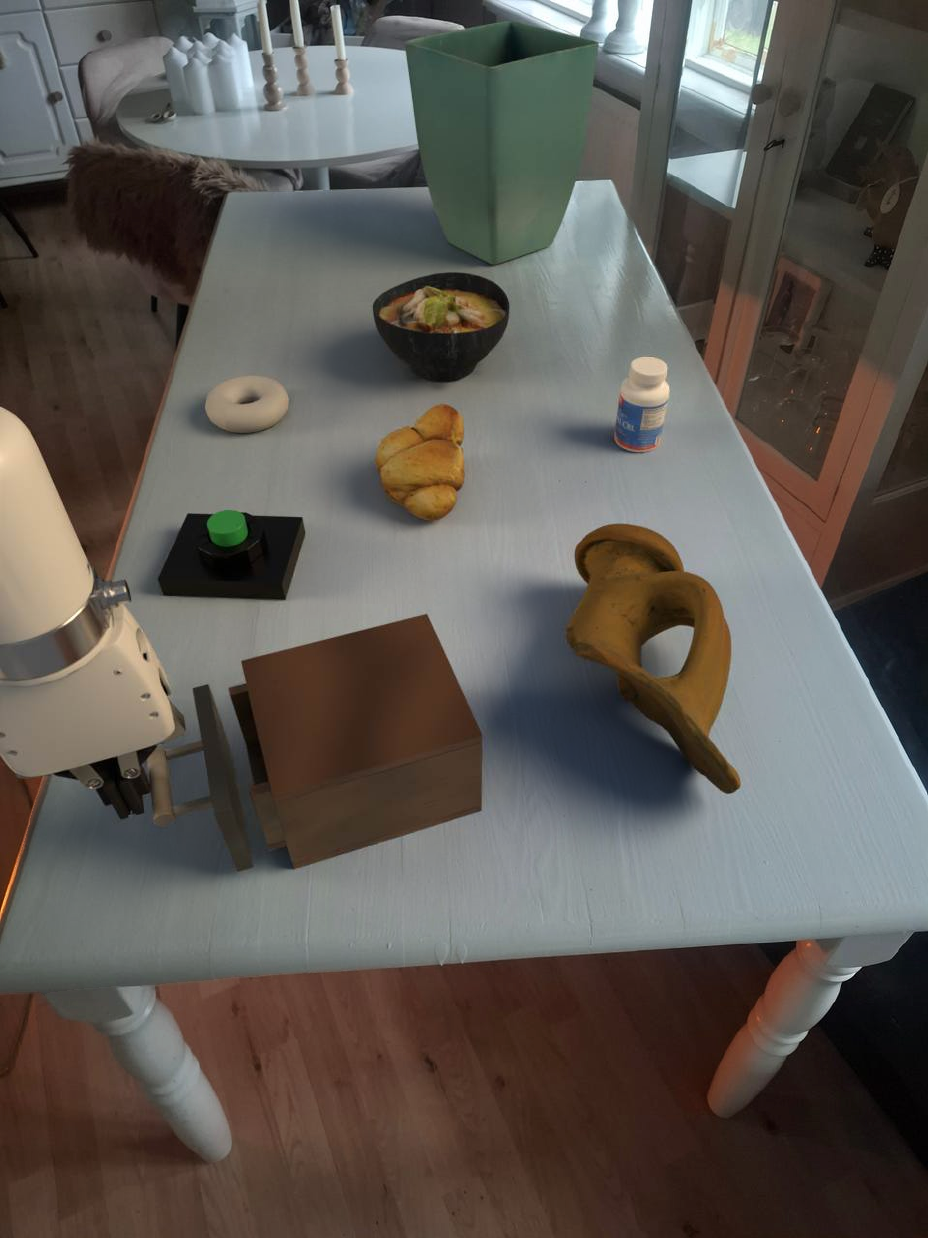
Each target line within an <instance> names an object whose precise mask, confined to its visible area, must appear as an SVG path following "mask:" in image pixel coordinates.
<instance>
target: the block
mask: <svg viewBox="0 0 928 1238" xmlns="http://www.w3.org/2000/svg"><path fill="white" fill-rule="evenodd" d="M239 512H240V513H242V514H243V515H244V517H245V521H246V525H247V529H248V535H247V537H246V539H245V540H244V541H243V542H241V543H240V544H237V545H234V546H230V547H221V546H217V545H215V544H214V543H213V542H212V541H211V538H210V535H209V531H208V528H207V521H208V519H209V518H210V517H211V516H212V515H214V514H215V513H192V512H190V513H189V512H188V513H186V515H185V518H184V520H183V522H182V524H181V526H180V529H179V531H178V533H177V535H176V537H175V540H174V542H173V543H172V546H171V548H170V550H169V552H168V555H167V557H166V559H165V561H164V563H163V566H162V568H161V569H160V572H159V574H158V576H157V579H156V580H157V582H158V585H159V588H160V591H161V593H162V596H167V597H168V596H169V597H189V598H190V597H196V598H221V599H245V600H246V599H247V600H250V599H251V600H274V601H286V600H287V597H288V593H289V590H290V587H291V584H292V579H293V576H294V572H295V570H296V566H297V563H298V560H299V556H300V553H301V549H302V547H303V543H304V540H305V536H306V529H305V523H304V517H302V516H283V515H282V516H281V515H256V514H255V515H254V514H251V513H249V512H244V511H242V512H241V511H239Z"/></svg>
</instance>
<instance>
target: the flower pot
mask: <svg viewBox="0 0 928 1238" xmlns="http://www.w3.org/2000/svg"><path fill="white" fill-rule="evenodd" d="M599 45H600V44H599V41H595V40H592V39H589V38H585V37H581V36H578V35H573V34H569V33H564V32H560V31H556V30H552V29H547V28H544V27H539V26H536V25H531V24H527V23H522V22H518V21H512V20H511V21H510V20H507V21H500V22H499V21H498V22H495V23H489V24H483V25H478V26H473V27H468V28H467V27H466V28H463V29H456V30H451V31H447V32H442V33H441V32H440V33H436V34H431V35H427V36H422V37H416V38H412V39H408V40H406V41H404V48H405V57H406V64H407V71H408V79H409V86H410V95H411V102H412V109H413V110H412V111H413V117H414V125H415V133H416V140H417V147H418V151H419V157H420V160H421V165H422V169H423V175H424V177H425V181H426V182H425V183H426V184H427V188H428V192H429V196H430V198H431V199H430V200H431V202H432V205H433V207H434V211H435V214H436V216H437V219H438V221H439V224H440V226H441V229H442V231H443V234H444V236H445V239H446V241H447V242H448V243H449V244H451V245H453V246H455V247H456V248H458V249H460V250H462V251H465V252H466V253H468V254H470V255H472V256H474V257H475V258H478V259H480V260H482V261H484V262H486V263H488V264H490V265H494V266H495V265H499V264H502V263H505V262H508V261H511V260H514V259H516V258H520V257H522V256H525V255H528V254H532V253H534V252H537V251H539V250H543V249H546V248H548V247H550V246H553V245H552V244H553V242H554V241H555V239H556V236H557V235H558V232H559V229H560V227H561V225H562V223H563V220H564V219H565V218H564V217H565V215H566V212H567V209H568V207H569V203H570V201H571V197H572V194H573V192H574V188H575V185H576V181H577V178H578V175H579V170H580V167H581V166H580V165H581V162H582V159H583V153H584V148H585V143H586V136H587V127H588V123H589V122H588V121H589V114H590V107H591V100H592V92H593V87H594V80H595V79H594V78H595V72H596V65H597V59H598V54H599Z"/></svg>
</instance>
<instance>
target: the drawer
mask: <svg viewBox="0 0 928 1238" xmlns="http://www.w3.org/2000/svg"><path fill="white" fill-rule="evenodd" d="M228 692H229V693H228V694H229V698H230V700H231V703H232V706H233V710H234V713H235V717H236V719H237V722H238V725H239V729H240V732H241V735H242V739H243V741H244V744H245V747H246V752H247V757H248V762H249V766H250V771H251V775H252V780H253V785H250V786H249V788H248V791H249V795H250V798H251V801H252V804H253V807H254V811H255V813H256V816H257V819H258V821H259V825H260V827H261V832H262V834H263V837H264V840H265V843H266V845H267V849H268V851H269V852H272V851H275V850H278V849H283V848H286V847H287V844H286V841H285V838H284V835H283V831H282V828H281V825H280V821H279V818H278V815H277V812H276V808H275V805H274V802H273V798H272V795H271V790H270V786H269V781H268V777H267V773H266V768H265V764H264V760H263V755H262V751H261V746H260V742H259V738H258V733H257V729H256V724H255V720H254V716H253V711H252V707H251V703H250V698H249V694H248V689H247V685H246V682H245V683H241V684H238V685H233V686H230V687H228ZM192 694H193V700H194V707H195V713H196V718H197V724H198V729H199V730H198V731H199V736H200V740H198V741H195V742H191V743H186V744H184V745H180V746H176V747H172V748H168V749H165V748H164V747H160V746H157V747H156V749H155V750H154V751H153V753H152V754H151V755H150V756H149V757H148V758H147V760H146V766H147V777H148V780H149V786H150V794H149V795H150V801H151V810H152V820H153V823H154V825H156V826H159V827H166V826H170V825H171V824H173V823H174V821H175V820H176V818H177V817H180V816H184V815H188V814H191V813H194V812H197V811H201V810H204V809H209V808H212V812H213V816H214V819H215V822H216V823H217V826H218V828H219V831H220V833H221V837H222V838H223V841H224V843H225V846H226V849H227V851H228V853H229V856H230V859H231V861H232V863H233V866H234V868H235V871H236V872H237V873H241V872H244V871H246V870H250V869H253V868H254V861H253V857H252V852H251V846H250V841H249V836H248V831H247V826H246V822H245V816H244V811H243V806H242V801H241V796H240V791H239V786H238V781H237V776H236V771H235V765H234V760H233V754H232V750H231V746H230V743H229V739H228V736H227V734H226V731H225V728H224V724H223V722H222V719H221V717H220V713H219V711H218V708H217V704H216V702H215V701H216V700H215V698H214V696H213V693H212V690H211V687H210V685H209V684H208V683H207V684H202V685H199V686H195V687H192ZM201 752H202V754H203V759H204V765H205V771H206V777H207V783H208V790H209V795H205V796H203V797H198V798H195V799H191V800H188V801H185V802H181V803H178V804H174V799H173V792H172V786H171V785H172V784H171V777H170V770H169V763H168V762H169V761H172V760H176V759H180V758H183V757H187V756H190V755H194V754H197V753H201Z"/></svg>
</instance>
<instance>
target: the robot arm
mask: <svg viewBox="0 0 928 1238" xmlns="http://www.w3.org/2000/svg"><path fill="white" fill-rule="evenodd" d="M129 603H132V595H131V590H130V587H129V585H128V581H127V580H126V579H120V580H116V581H112V580H106V581H105V580H104V579H103V577H102V576H100V577H99V575H98V573H97V571H96V568H95V566H91V564H90V562H89V560H88V558H87V556H86V554H85V552H84V549H83V546H82V544H81V542H80V539H79V537H78V536H77V533H76V531H75V529H74V526H73V524H72V522H71V519H70V517H69V515H68V513H67V511H66V508H65V505H64V504H63V501H62V499H61V496H60V494H59V492H58V489H57V487H56V485H55V483H54V481H53V478H52V476H51V474H50V471H49V469H48V467H47V465H46V462H45V460H44V458H43V455H42V453H41V451H40V449H39V446H38V444H37V442H36V440H35V438H34V437H33V435H32V433H31V430H30V429H29V428H28V427H27V426H26V424H25V423H24V422H23V421H22V420H21V419H20V417H18V416H17V415H16V414H15V413H13V412H11V411H9V410H7V409H6V408H4V407H2V406H0V757H1V758H2V760H3V761H4V763H5V764H6V765H7V766H8V768H9V769H10V770H11V771H13V772H14V774H15V776H16V778H18V779H23V780H25V779H26V780H27V779H34V778H43V777H49V776H51V774H52V775H53V776H56V777H60V778H65V779H70V780H75V781H79V782H80V783H81V784H82V786H83V787H85V789H87V790H95V791H96V793H97V795H98V796H99V798H100V800H101V802H102V804H103V805H104V806H105V807H107V806H112V808H113V809H114V811H115V813H116V814H117V816H118V819H119V820H120V821H122V820H125V819H129V816H131V815H135V816H140V815H143V814H145V806H144V797H143V796H146V795H151V794H150V785H149V776H148V773H146V770H145V768H144V766H143V764H144V763H145V762H147V758H148V757H149V756H150V755H151V754H152V753H153V751H154V750H155V749H156V747H158V746H160V745H164V744H167V743H169V742H172V741H173V740H175V739H178V738H180V737H183V736H184V735H185V734H186V733H187V727H186V726H187V725H186V720H185V715H184V714H183V713H182V712H181V711H180V709H179V708H177V707H176V705H175V704H174V703H173V702H172V701H171V699H169V698H168V697H169V696H171V695H172V690H171V689H172V688H171V685H170V683H169V680H168V679H169V678H168V676H167V674H166V671H165V669H164V667H163V665H162V663H161V661H160V659H159V657H158V655H157V653H156V651H155V649H154V647H153V646H152V643H151V642H150V641H149V639H148V637H147V635H146V634H145V632H144V631H143V629H142V627H141V626H140V624H139V622H138V621H137V619H136V617H134V615H133V614H132V613H131V611H130V610H129V608H127V606H126V605H125V604H129Z"/></svg>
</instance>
